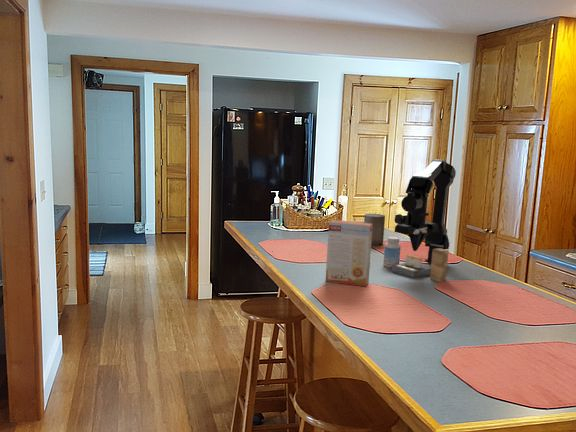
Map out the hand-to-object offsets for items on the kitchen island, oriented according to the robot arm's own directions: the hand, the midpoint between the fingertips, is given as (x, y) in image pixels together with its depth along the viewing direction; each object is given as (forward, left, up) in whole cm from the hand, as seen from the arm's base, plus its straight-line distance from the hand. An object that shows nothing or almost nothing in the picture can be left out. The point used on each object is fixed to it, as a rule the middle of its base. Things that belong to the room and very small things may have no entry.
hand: (414, 250), depth 196 cm
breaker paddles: (0, 0, -6) cm, 6 cm away
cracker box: (+32, -2, -9) cm, 33 cm away
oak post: (-1, +11, -8) cm, 14 cm away
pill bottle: (-1, -11, -9) cm, 15 cm away
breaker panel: (0, 0, -8) cm, 9 cm away
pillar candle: (-28, -46, -9) cm, 55 cm away
